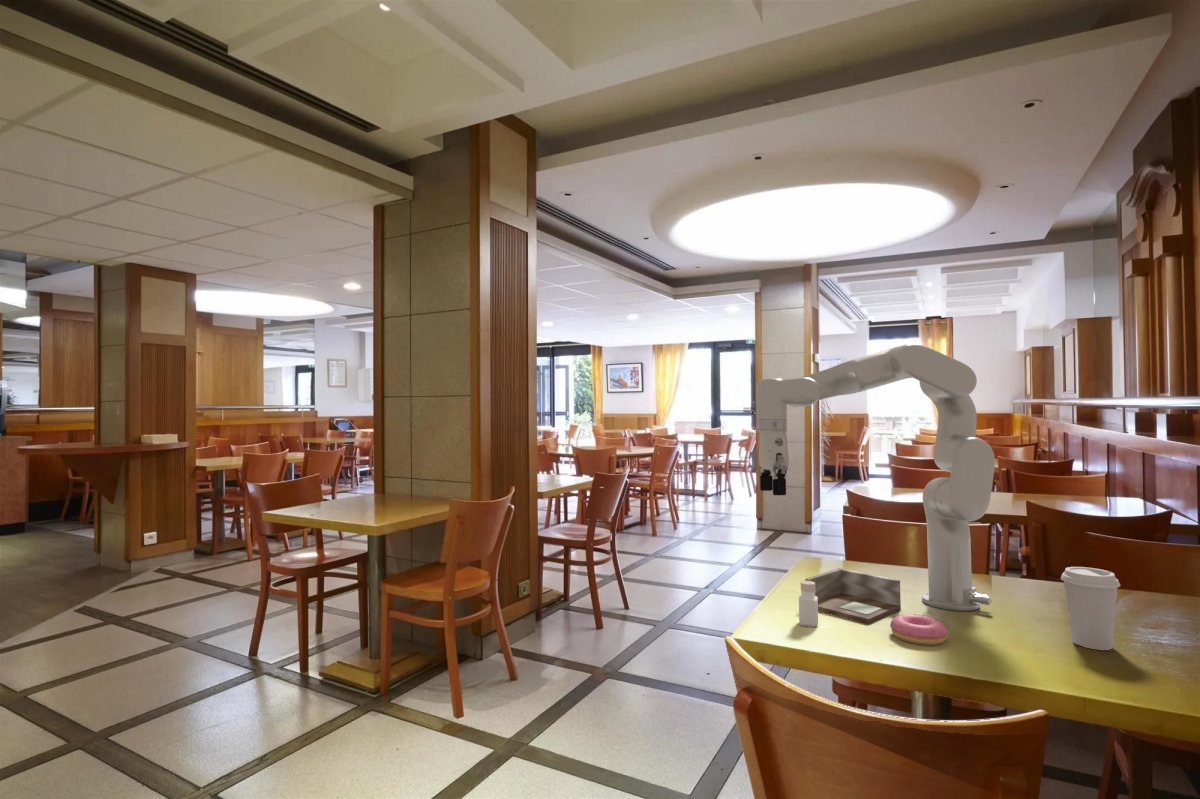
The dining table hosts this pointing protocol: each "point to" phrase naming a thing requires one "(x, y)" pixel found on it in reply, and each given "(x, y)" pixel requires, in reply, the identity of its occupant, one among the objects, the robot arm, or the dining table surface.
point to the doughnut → (918, 629)
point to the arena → (856, 595)
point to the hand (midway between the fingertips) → (772, 492)
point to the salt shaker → (808, 605)
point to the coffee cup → (1091, 605)
